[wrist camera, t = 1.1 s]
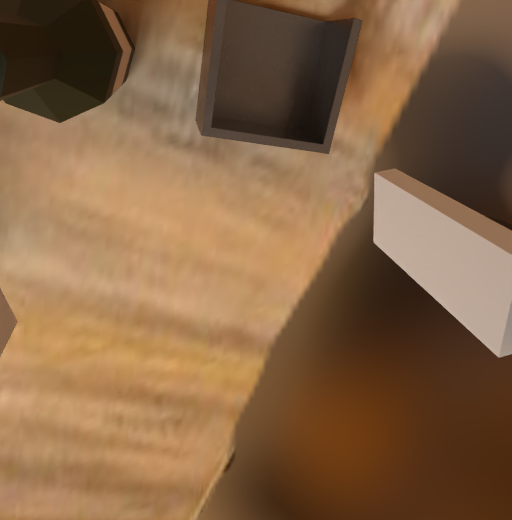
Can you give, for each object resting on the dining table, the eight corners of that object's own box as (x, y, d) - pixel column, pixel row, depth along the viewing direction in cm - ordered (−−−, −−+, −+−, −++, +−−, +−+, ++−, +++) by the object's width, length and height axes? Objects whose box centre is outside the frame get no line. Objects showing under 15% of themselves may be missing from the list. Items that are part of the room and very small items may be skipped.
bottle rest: (195, 120, 44) (201, 135, 37) (209, -5, 39) (218, -15, 32) (304, 137, 47) (328, 153, 40) (330, 23, 42) (362, 20, 35)
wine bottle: (32, -7, 36) (-295, -122, 11) (129, -3, 38) (51, -95, 12) (52, 94, 40) (-151, 189, 14) (139, 94, 42) (97, 181, 16)
